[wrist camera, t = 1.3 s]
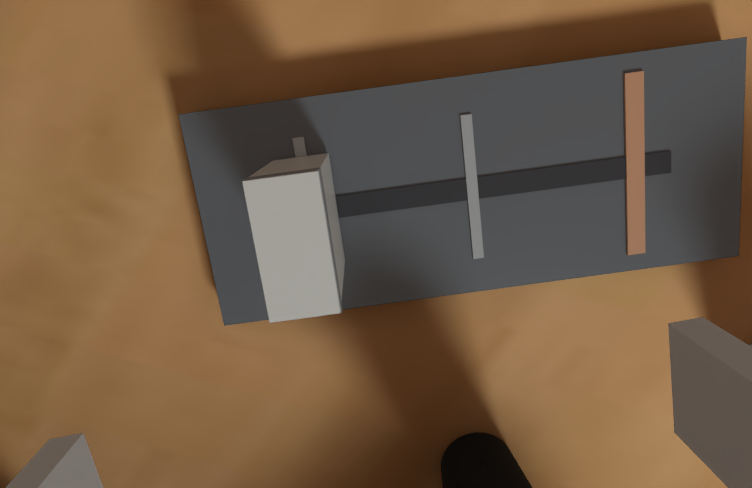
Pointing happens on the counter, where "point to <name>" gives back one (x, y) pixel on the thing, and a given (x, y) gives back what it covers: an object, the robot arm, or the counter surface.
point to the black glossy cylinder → (481, 464)
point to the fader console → (494, 174)
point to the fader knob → (297, 237)
